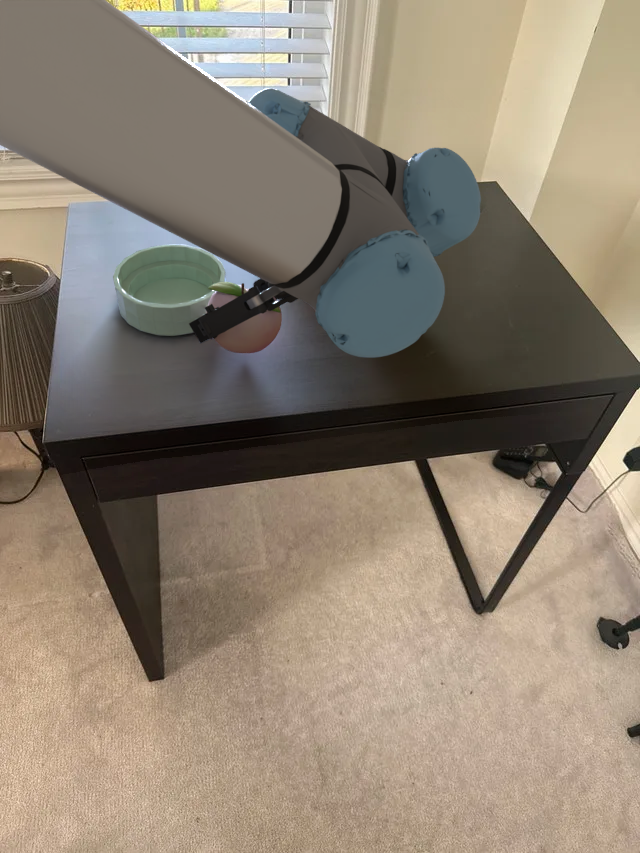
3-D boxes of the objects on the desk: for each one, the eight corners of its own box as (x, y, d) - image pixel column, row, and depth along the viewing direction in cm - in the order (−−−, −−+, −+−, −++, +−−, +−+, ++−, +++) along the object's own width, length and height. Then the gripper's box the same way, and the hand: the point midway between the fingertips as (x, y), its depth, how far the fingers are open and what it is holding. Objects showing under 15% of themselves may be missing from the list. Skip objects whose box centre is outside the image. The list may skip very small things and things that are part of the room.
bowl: (127, 347, 81) (121, 315, 77) (113, 282, 90) (107, 251, 86) (237, 329, 84) (236, 298, 81) (214, 269, 93) (212, 239, 90)
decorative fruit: (197, 365, 79) (190, 298, 71) (218, 325, 84) (214, 259, 77) (271, 380, 78) (272, 313, 70) (287, 338, 83) (290, 272, 76)
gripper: (277, 340, 56) (174, 383, 74) (418, 249, 68) (299, 305, 86) (233, 263, 55) (139, 326, 73) (385, 183, 66) (271, 255, 84)
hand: (226, 315), depth 79 cm, fingers closed on decorative fruit, 9 cm apart
